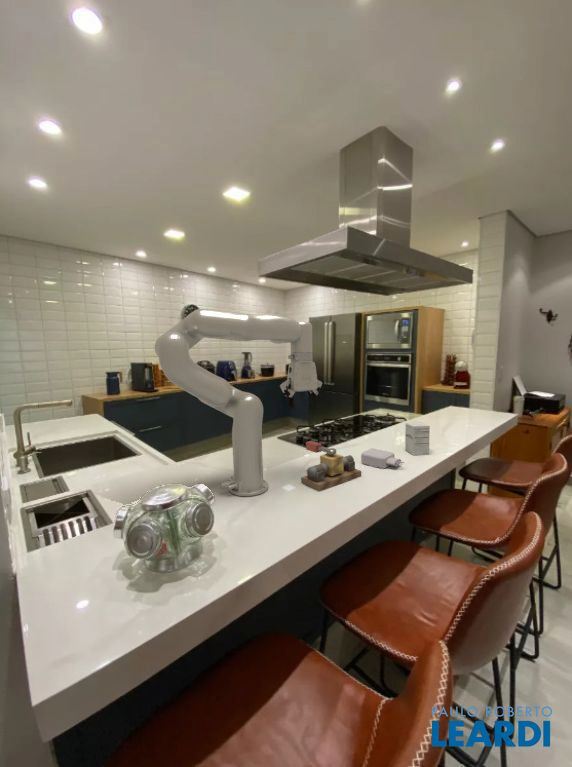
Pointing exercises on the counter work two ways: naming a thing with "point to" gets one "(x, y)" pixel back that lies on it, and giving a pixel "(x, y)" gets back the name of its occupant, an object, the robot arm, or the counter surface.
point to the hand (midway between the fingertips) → (302, 407)
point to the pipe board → (331, 480)
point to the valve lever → (318, 448)
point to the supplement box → (417, 438)
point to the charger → (379, 458)
